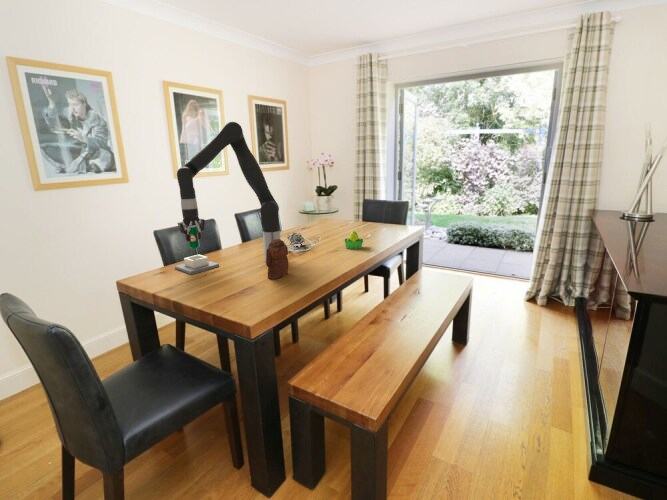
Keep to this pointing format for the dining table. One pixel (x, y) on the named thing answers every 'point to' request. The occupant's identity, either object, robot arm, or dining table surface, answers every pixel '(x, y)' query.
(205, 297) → the dining table surface
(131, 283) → the dining table surface
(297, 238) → the passion flower
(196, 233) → the soda can
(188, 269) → the can holder
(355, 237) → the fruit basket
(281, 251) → the wooden figurine
